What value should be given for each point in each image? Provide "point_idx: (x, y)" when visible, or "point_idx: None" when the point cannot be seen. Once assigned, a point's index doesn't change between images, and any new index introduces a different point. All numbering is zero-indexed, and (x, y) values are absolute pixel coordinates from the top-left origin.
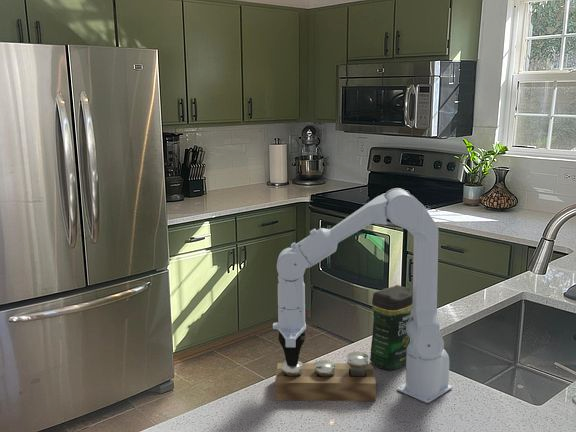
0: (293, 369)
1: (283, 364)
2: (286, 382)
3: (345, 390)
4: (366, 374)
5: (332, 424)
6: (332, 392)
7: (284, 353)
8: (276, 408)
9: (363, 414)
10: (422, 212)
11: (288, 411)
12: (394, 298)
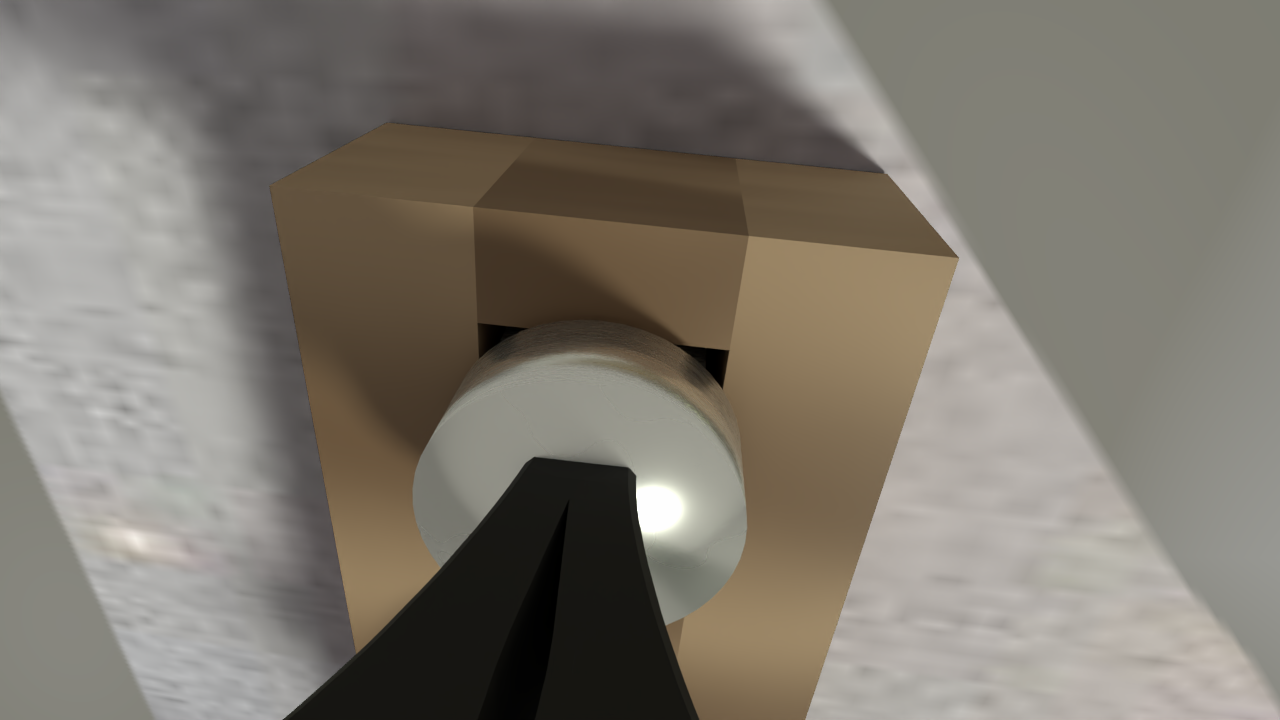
0: (416, 519)
1: (580, 402)
2: (300, 346)
3: None
4: None
5: (106, 539)
6: None
7: (391, 624)
8: (218, 129)
9: (282, 701)
10: None
11: (193, 250)
12: None
